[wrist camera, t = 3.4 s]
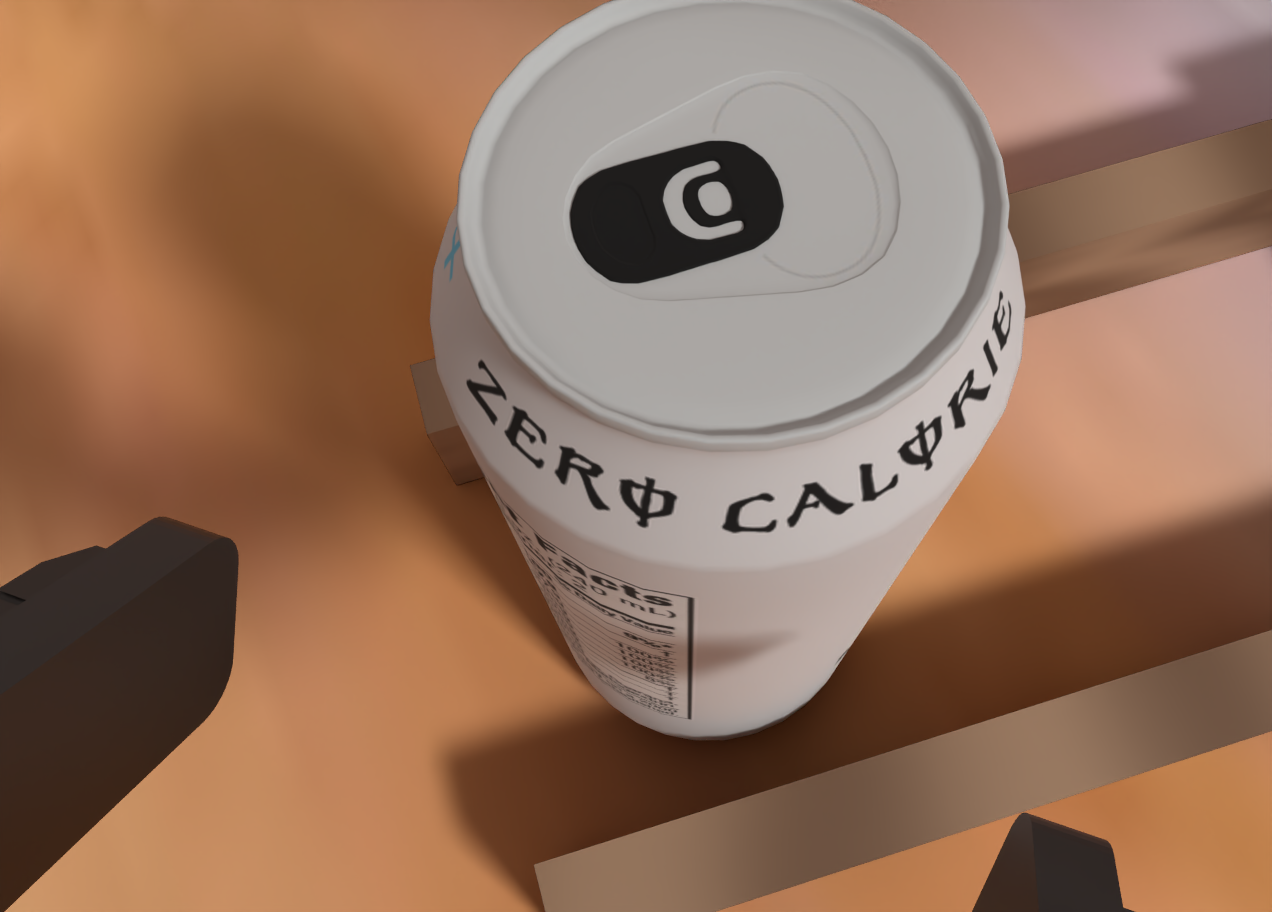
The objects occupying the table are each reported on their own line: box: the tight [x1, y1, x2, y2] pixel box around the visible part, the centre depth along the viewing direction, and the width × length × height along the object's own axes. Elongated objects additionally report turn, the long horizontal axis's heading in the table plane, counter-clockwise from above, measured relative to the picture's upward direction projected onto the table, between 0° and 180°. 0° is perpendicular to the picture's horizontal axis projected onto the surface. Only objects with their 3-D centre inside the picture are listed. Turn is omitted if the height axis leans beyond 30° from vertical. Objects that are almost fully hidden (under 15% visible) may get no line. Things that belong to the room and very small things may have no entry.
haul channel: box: [410, 119, 1272, 912], centre depth 22 cm, size 25×12×4 cm, turn 107°
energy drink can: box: [430, 0, 1026, 740], centre depth 17 cm, size 6×6×15 cm
